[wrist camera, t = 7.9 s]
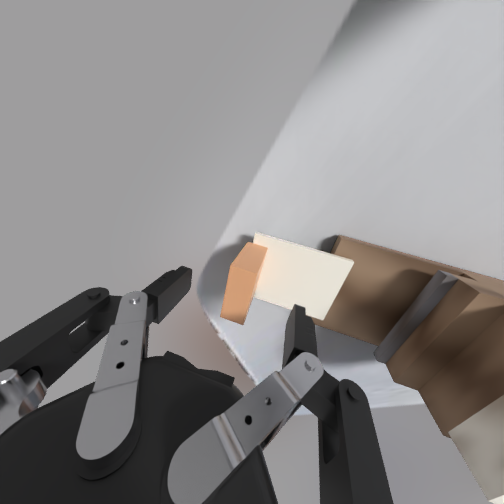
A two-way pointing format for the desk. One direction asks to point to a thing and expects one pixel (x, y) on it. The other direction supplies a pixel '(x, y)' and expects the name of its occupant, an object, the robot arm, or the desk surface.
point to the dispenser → (433, 343)
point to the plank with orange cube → (283, 277)
